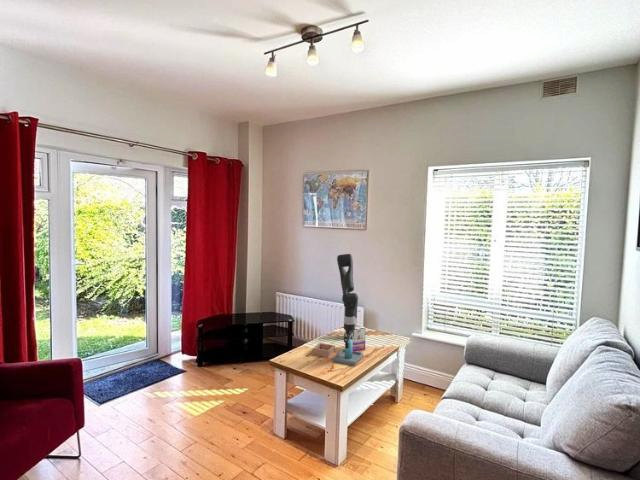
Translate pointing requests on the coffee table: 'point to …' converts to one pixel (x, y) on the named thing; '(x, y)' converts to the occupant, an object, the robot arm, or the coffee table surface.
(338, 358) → the tray
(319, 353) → the tan square open box
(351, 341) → the teal peg
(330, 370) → the coffee table surface
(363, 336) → the candy bar box
